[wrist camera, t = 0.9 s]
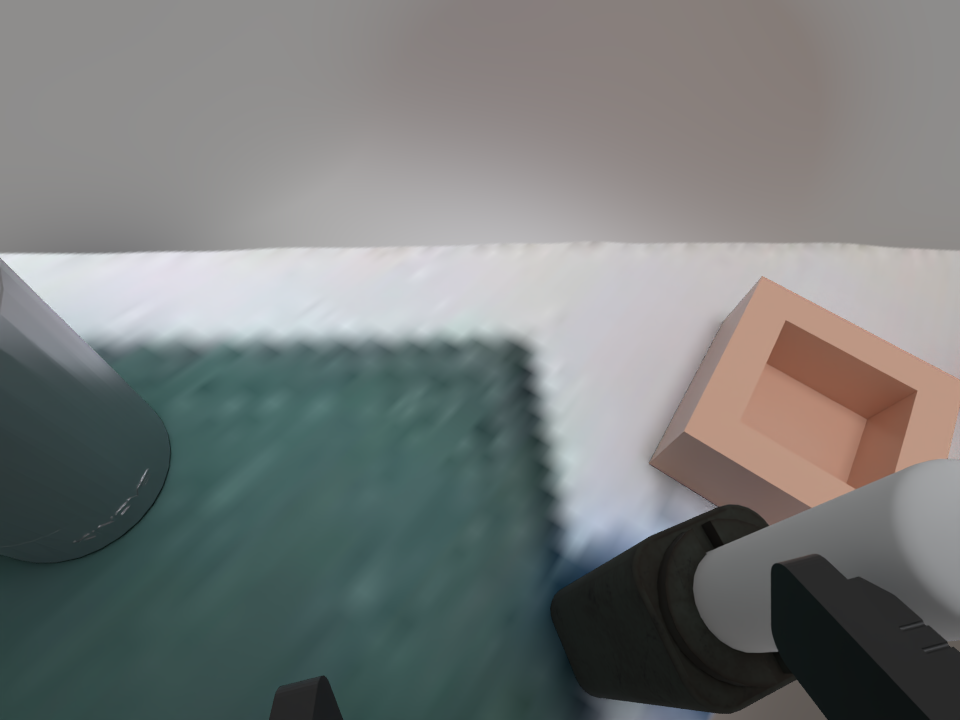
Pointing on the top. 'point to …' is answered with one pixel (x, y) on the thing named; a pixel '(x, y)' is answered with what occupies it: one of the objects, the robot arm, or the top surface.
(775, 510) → the holder block
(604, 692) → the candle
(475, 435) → the top surface
